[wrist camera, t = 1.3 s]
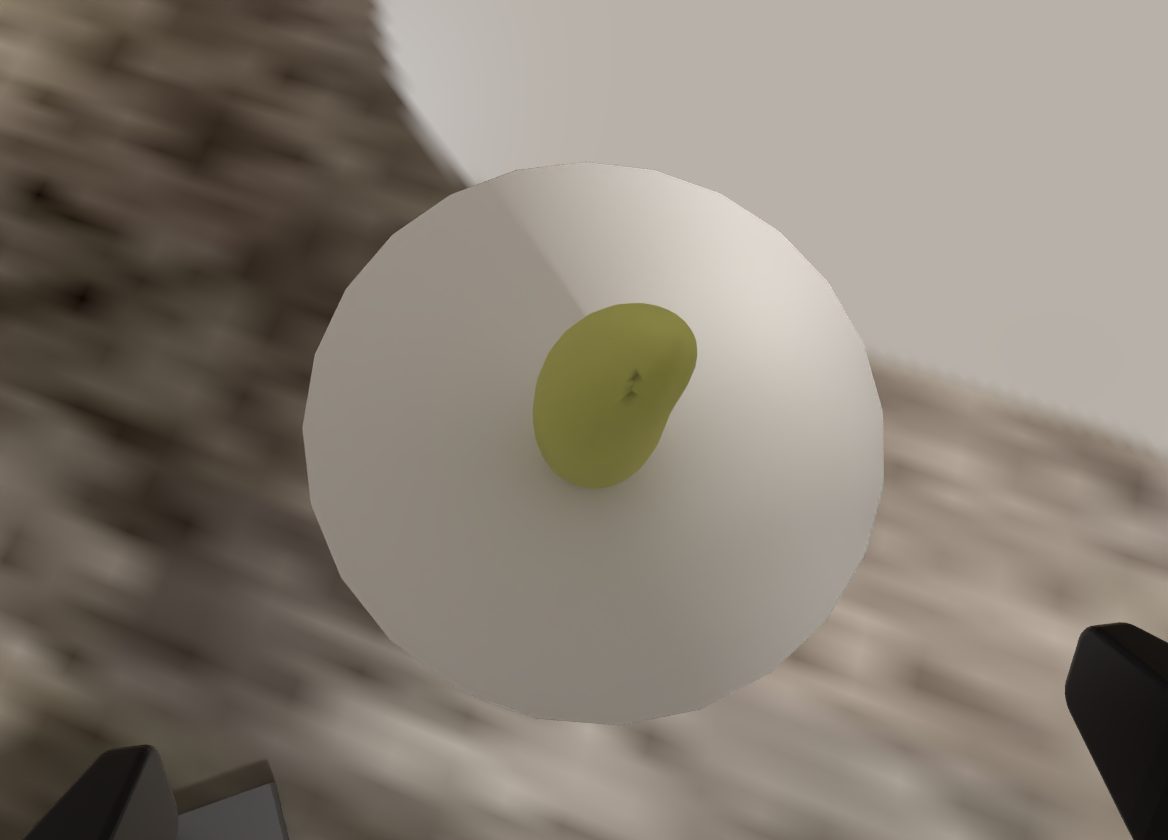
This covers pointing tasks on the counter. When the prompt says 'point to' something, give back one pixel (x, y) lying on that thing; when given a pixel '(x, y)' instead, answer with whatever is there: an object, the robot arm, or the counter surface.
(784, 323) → the candle
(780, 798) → the counter surface
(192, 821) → the mat
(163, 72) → the counter surface
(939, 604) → the counter surface
